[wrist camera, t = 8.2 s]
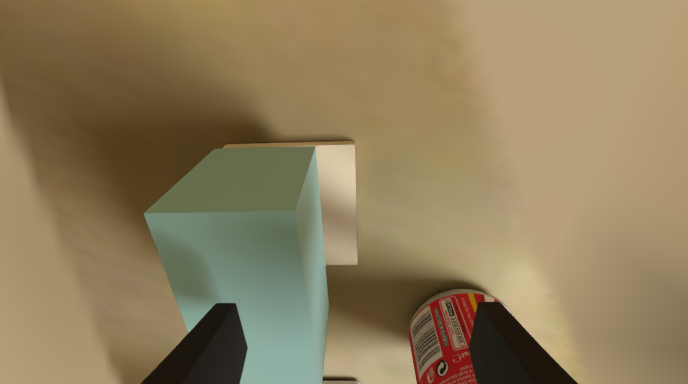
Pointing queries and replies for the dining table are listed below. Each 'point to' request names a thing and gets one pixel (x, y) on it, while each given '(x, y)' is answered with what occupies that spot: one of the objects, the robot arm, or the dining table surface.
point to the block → (252, 254)
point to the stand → (332, 196)
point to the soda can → (445, 336)
